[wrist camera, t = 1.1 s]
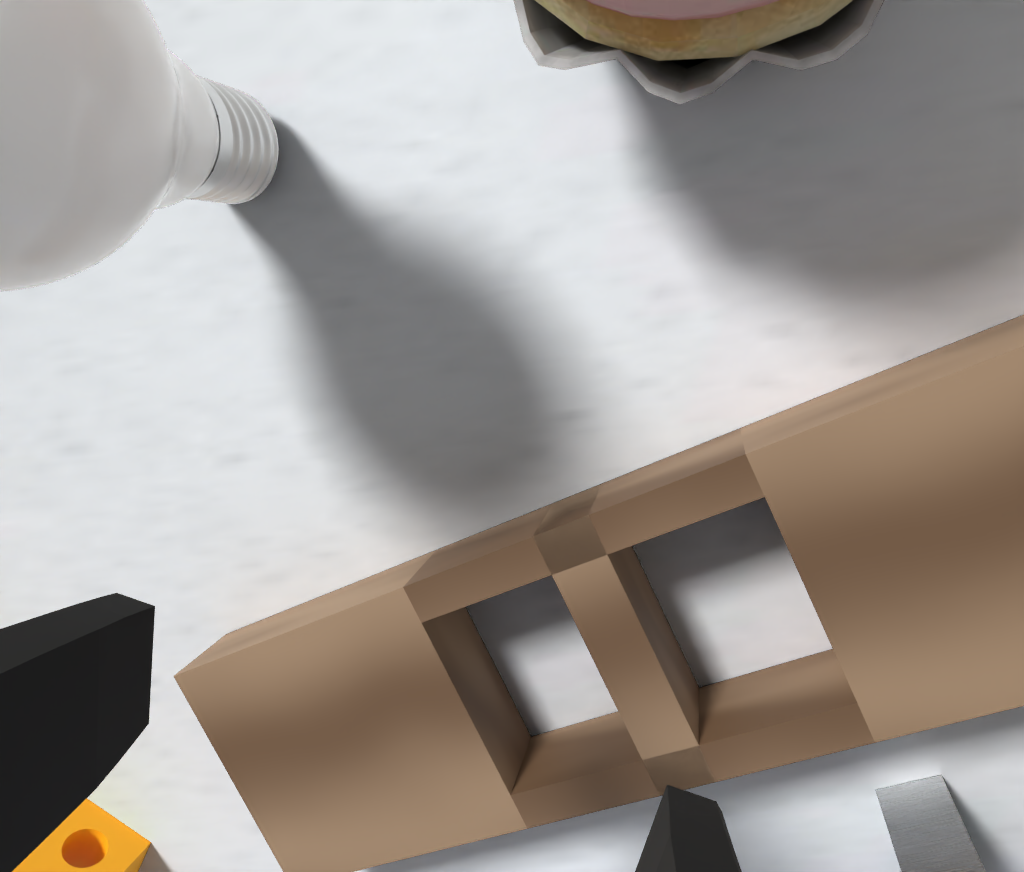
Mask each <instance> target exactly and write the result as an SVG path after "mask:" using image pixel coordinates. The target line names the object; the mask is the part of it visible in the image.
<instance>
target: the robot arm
mask: <svg viewBox="0 0 1024 872" xmlns="http://www.w3.org/2000/svg"><path fill="white" fill-rule="evenodd" d="M154 612H155V606H153V605H150V604H147V603H144V602H141V601H138V600H136V599H133V598H130V597H127V596H124V595H121V594H118V593H115V594H111V595H107V596H103V597H100V598H96V599H93V600H89V601H86V602H83V603H79V604H76V605H73V606H70V607H67V608H64V609H60V610H57V611H54V612H51V613H48V614H45V615H42V616H39V617H36V618H33V619H30V620H27V621H24V622H21V623H18V624H15V625H12V626H9V627H6V628H2V629H0V872H12V871H13V870H14V869H15V868H16V867H17V866H18V865H19V864H20V863H21V862H22V861H23V860H25V859H26V858H27V857H28V856H29V855H30V854H31V853H32V852H33V851H34V850H35V849H36V848H37V847H38V846H39V845H40V844H41V843H42V842H43V841H44V840H45V839H46V838H47V837H48V836H49V835H50V834H51V833H52V832H53V831H54V830H55V829H56V828H57V827H58V826H59V825H60V824H61V823H62V822H63V821H64V820H65V819H66V818H67V817H68V816H69V815H70V814H71V813H72V812H73V811H74V810H75V809H76V808H77V807H78V806H79V805H80V804H81V803H82V802H83V801H84V800H85V799H86V798H87V797H88V796H89V795H90V794H91V793H92V792H93V791H94V790H95V789H96V788H97V787H98V786H99V784H100V783H101V782H102V781H103V780H104V778H105V777H106V776H107V775H108V774H109V773H110V771H111V770H112V769H113V768H114V767H115V765H116V764H117V763H118V762H119V761H120V759H121V758H122V757H123V756H124V754H125V753H126V752H127V750H128V749H129V748H130V747H131V745H132V744H133V743H134V742H135V740H136V739H137V738H138V736H139V735H140V734H141V733H142V731H143V730H144V729H145V728H146V726H147V725H148V724H149V707H150V688H151V669H152V650H153V631H154ZM635 872H741V869H740V866H739V863H738V860H737V857H736V854H735V851H734V848H733V845H732V842H731V839H730V836H729V833H728V830H727V827H726V823H725V820H724V817H723V814H722V811H721V809H720V808H719V806H718V804H717V802H716V801H713V800H710V799H707V798H704V797H701V796H699V795H696V794H693V793H690V792H687V791H684V790H681V789H678V788H676V787H673V786H670V785H667V786H666V789H665V791H664V794H663V797H662V800H661V802H660V805H659V808H658V811H657V813H656V816H655V819H654V821H653V824H652V827H651V830H650V832H649V835H648V838H647V841H646V843H645V846H644V849H643V852H642V854H641V857H640V860H639V863H638V865H637V868H636V871H635Z"/></svg>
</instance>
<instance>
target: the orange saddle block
mask: <svg viewBox="0 0 1024 872" xmlns="http://www.w3.org/2000/svg"><path fill="white" fill-rule="evenodd" d="M150 844H151V842H150V841H148V840H147V839H145V838H144V837H142V836H141V835H139V834H138V833H137V832H135V831H134V830H132V829H131V828H129V827H128V826H126V825H125V824H123V823H122V822H120V821H119V820H118V819H116V818H115V817H113V816H112V815H110V814H109V813H107V812H106V811H104V810H103V809H102V808H100V807H99V806H97V805H96V804H94V803H93V802H91V801H90V800H88V799H87V798H86V799H85V800H84V801H83V802H82V803H81V804H80V805H79V806H78V807H77V808H76V809H75V810H74V811H73V812H72V813H71V814H70V815H69V816H68V817H67V818H66V819H65V820H64V821H63V822H62V823H61V824H60V825H59V826H58V827H57V828H56V829H55V830H54V831H53V832H52V833H51V834H50V835H49V836H48V837H47V838H46V839H45V840H44V841H43V842H42V843H41V844H40V845H39V846H38V847H37V848H36V849H35V850H34V851H33V852H32V853H31V854H30V855H29V856H28V857H27V858H26V859H25V860H23V861H22V862H21V863H20V864H19V865H18V866H17V867H16V868H15V869H14V870H13V871H12V872H138V870H139V868H140V866H141V864H142V862H143V859H144V857H145V855H146V853H147V850H148V848H149V846H150Z"/></svg>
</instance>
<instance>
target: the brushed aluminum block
mask: <svg viewBox="0 0 1024 872" xmlns="http://www.w3.org/2000/svg"><path fill="white" fill-rule="evenodd" d="M875 791H876V794H877V797H878V800H879V803H880V806H881V809H882V812H883V816H884V819H885V822H886V825H887V828H888V831H889V834H890V837H891V840H892V844H893V847H894V850H895V853H896V856H897V859H898V862H899V865H900V868H901V871H902V872H986V871H985V869H984V867H983V864H982V862H981V860H980V858H979V856H978V854H977V851H976V849H975V847H974V845H973V843H972V840H971V838H970V836H969V834H968V832H967V830H966V827H965V825H964V823H963V821H962V819H961V816H960V814H959V812H958V810H957V808H956V806H955V803H954V801H953V799H952V797H951V795H950V792H949V790H948V788H947V786H946V784H945V782H944V779H943V777H942V775H939V776H934V777H930V778H925V779H921V780H917V781H912V782H908V783H903V784H899V785H895V786H890V787H886V788H881V789H877V790H875Z"/></svg>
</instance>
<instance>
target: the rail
mask: <svg viewBox="0 0 1024 872" xmlns="http://www.w3.org/2000/svg"><path fill="white" fill-rule="evenodd" d="M764 497H765V499H766V501H767V503H768V505H769V507H770V510H771V512H772V514H773V516H774V519H775V521H776V523H777V525H778V527H779V530H780V532H781V534H782V536H783V539H784V541H785V543H786V545H787V548H788V550H789V552H790V554H791V556H792V559H793V561H794V563H795V565H796V568H797V570H798V572H799V574H800V576H801V579H802V581H803V583H804V585H805V588H806V590H807V592H808V594H809V596H810V599H811V601H812V603H813V605H814V608H815V610H816V612H817V614H818V617H819V619H820V621H821V623H822V625H823V628H824V630H825V632H826V634H827V637H828V639H829V641H830V643H831V645H832V648H833V649H831V650H828V651H824V652H821V653H817V654H814V655H810V656H807V657H804V658H800V659H797V660H793V661H790V662H786V663H783V664H779V665H776V666H773V667H769V668H766V669H762V670H759V671H755V672H752V673H749V674H745V675H742V676H738V677H735V678H731V679H728V680H725V681H721V682H718V683H714V684H711V685H707V686H704V687H701V688H699V687H698V684H697V682H696V680H695V678H694V676H693V674H692V672H691V670H690V668H689V665H688V663H687V661H686V659H685V657H684V655H683V653H682V651H681V649H680V647H679V644H678V642H677V640H676V638H675V636H674V634H673V632H672V630H671V628H670V625H669V623H668V621H667V619H666V617H665V615H664V613H663V611H662V609H661V606H660V604H659V602H658V600H657V598H656V596H655V594H654V592H653V590H652V588H651V585H650V583H649V581H648V579H647V577H646V575H645V573H644V571H643V569H642V566H641V564H640V562H639V560H638V558H637V556H636V554H635V552H634V550H633V547H632V546H633V545H635V544H638V543H641V542H643V541H646V540H649V539H652V538H654V537H657V536H660V535H663V534H665V533H668V532H671V531H673V530H676V529H679V528H682V527H684V526H687V525H690V524H693V523H695V522H698V521H701V520H703V519H706V518H709V517H712V516H714V515H717V514H720V513H723V512H725V511H728V510H731V509H734V508H736V507H739V506H742V505H744V504H747V503H750V502H753V501H755V500H758V499H761V498H764ZM551 575H552V577H553V579H554V581H555V583H556V585H557V587H558V589H559V591H560V593H561V595H562V597H563V599H564V601H565V603H566V605H567V607H568V609H569V611H570V613H571V615H572V617H573V619H574V621H575V623H576V626H577V628H578V630H579V632H580V634H581V636H582V638H583V640H584V642H585V644H586V646H587V648H588V650H589V652H590V654H591V656H592V658H593V660H594V662H595V664H596V666H597V668H598V670H599V672H600V674H601V677H602V679H603V681H604V683H605V685H606V687H607V689H608V691H609V693H610V695H611V697H612V699H613V701H614V703H615V705H616V707H617V709H618V712H615V713H611V714H608V715H604V716H601V717H598V718H594V719H591V720H587V721H584V722H580V723H577V724H574V725H570V726H567V727H563V728H560V729H556V730H553V731H549V732H546V733H543V734H539V735H536V736H532V737H531V736H530V734H529V732H528V730H527V728H526V726H525V724H524V722H523V720H522V718H521V716H520V714H519V712H518V710H517V708H516V706H515V704H514V702H513V700H512V698H511V696H510V694H509V692H508V690H507V688H506V686H505V684H504V682H503V680H502V678H501V676H500V674H499V673H498V671H497V669H496V667H495V665H494V663H493V661H492V659H491V657H490V655H489V653H488V651H487V649H486V647H485V645H484V643H483V641H482V639H481V637H480V635H479V633H478V631H477V629H476V627H475V625H474V623H473V621H472V619H471V617H470V615H469V613H468V611H467V609H466V606H469V605H471V604H474V603H477V602H480V601H482V600H485V599H488V598H491V597H493V596H496V595H499V594H501V593H504V592H507V591H510V590H512V589H515V588H518V587H521V586H523V585H526V584H529V583H532V582H534V581H537V580H540V579H542V578H545V577H548V576H551ZM174 678H175V680H176V681H177V683H178V685H179V687H180V689H181V690H182V692H183V694H184V696H185V697H186V699H187V701H188V703H189V705H190V706H191V708H192V710H193V712H194V713H195V715H196V717H197V719H198V721H199V722H200V724H201V726H202V728H203V729H204V731H205V733H206V735H207V737H208V738H209V740H210V742H211V744H212V745H213V747H214V749H215V751H216V753H217V754H218V756H219V758H220V760H221V762H222V763H223V765H224V767H225V769H226V770H227V772H228V774H229V776H230V778H231V779H232V781H233V783H234V785H235V786H236V788H237V790H238V792H239V794H240V795H241V797H242V799H243V801H244V802H245V804H246V806H247V808H248V810H249V811H250V813H251V815H252V817H253V818H254V820H255V822H256V824H257V826H258V827H259V829H260V831H261V833H262V834H263V836H264V838H265V840H266V842H267V843H268V845H269V847H270V849H271V850H272V852H273V854H274V856H275V858H276V859H277V861H278V863H279V865H280V866H281V868H282V870H283V872H354V871H358V870H362V869H366V868H370V867H374V866H378V865H382V864H386V863H390V862H394V861H398V860H402V859H406V858H411V857H415V856H419V855H423V854H427V853H431V852H435V851H439V850H443V849H447V848H451V847H455V846H459V845H463V844H467V843H471V842H475V841H479V840H483V839H487V838H491V837H496V836H500V835H504V834H508V833H512V832H516V831H520V830H524V829H528V828H532V827H536V826H540V825H544V824H548V823H552V822H556V821H560V820H564V819H568V818H572V817H576V816H580V815H585V814H589V813H593V812H597V811H601V810H605V809H609V808H613V807H617V806H621V805H625V804H629V803H633V802H637V801H641V800H645V799H649V798H653V797H657V796H661V795H663V794H664V791H665V789H666V786H667V785H670V786H673V787H676V788H678V789H681V790H686V789H690V788H694V787H698V786H702V785H706V784H710V783H714V782H718V781H722V780H726V779H730V778H734V777H738V776H742V775H746V774H750V773H755V772H759V771H763V770H767V769H771V768H775V767H779V766H783V765H787V764H791V763H795V762H799V761H803V760H807V759H811V758H815V757H819V756H823V755H827V754H831V753H835V752H839V751H844V750H848V749H852V748H856V747H860V746H864V745H868V744H872V743H876V742H880V741H884V740H888V739H892V738H896V737H900V736H904V735H908V734H912V733H916V732H920V731H924V730H929V729H933V728H937V727H941V726H945V725H949V724H953V723H957V722H961V721H965V720H969V719H973V718H977V717H981V716H985V715H989V714H993V713H997V712H1001V711H1005V710H1009V709H1013V708H1018V707H1022V706H1024V315H1022V316H1019V317H1017V318H1014V319H1012V320H1009V321H1007V322H1004V323H1002V324H999V325H997V326H994V327H992V328H989V329H987V330H984V331H982V332H979V333H977V334H974V335H972V336H969V337H967V338H964V339H962V340H959V341H957V342H954V343H952V344H949V345H947V346H944V347H942V348H939V349H937V350H934V351H932V352H929V353H927V354H924V355H922V356H919V357H917V358H914V359H912V360H909V361H907V362H904V363H902V364H899V365H897V366H894V367H892V368H889V369H887V370H884V371H882V372H879V373H877V374H874V375H872V376H869V377H867V378H864V379H862V380H859V381H857V382H854V383H852V384H849V385H847V386H844V387H842V388H839V389H837V390H834V391H832V392H830V393H827V394H825V395H822V396H820V397H817V398H815V399H812V400H810V401H807V402H805V403H802V404H800V405H797V406H795V407H792V408H790V409H787V410H785V411H782V412H780V413H777V414H775V415H772V416H770V417H767V418H765V419H762V420H760V421H757V422H755V423H752V424H750V425H747V426H745V427H742V428H740V429H737V430H735V431H732V432H730V433H727V434H725V435H722V436H720V437H717V438H715V439H712V440H710V441H707V442H705V443H702V444H700V445H697V446H695V447H692V448H690V449H687V450H685V451H682V452H680V453H677V454H675V455H672V456H670V457H667V458H665V459H662V460H660V461H657V462H655V463H652V464H650V465H647V466H645V467H642V468H640V469H637V470H635V471H632V472H630V473H627V474H625V475H622V476H620V477H617V478H615V479H612V480H610V481H607V482H605V483H602V484H600V485H597V486H595V487H592V488H590V489H587V490H585V491H582V492H580V493H577V494H575V495H572V496H570V497H567V498H565V499H562V500H560V501H557V502H555V503H552V504H550V505H547V506H545V507H542V508H540V509H538V510H535V511H533V512H530V513H528V514H525V515H523V516H520V517H518V518H515V519H513V520H510V521H508V522H505V523H503V524H500V525H498V526H495V527H493V528H490V529H488V530H485V531H483V532H480V533H478V534H475V535H473V536H470V537H468V538H465V539H463V540H460V541H458V542H455V543H453V544H450V545H448V546H445V547H443V548H440V549H438V550H435V551H433V552H430V553H428V554H425V555H423V556H420V557H418V558H415V559H413V560H410V561H408V562H405V563H403V564H400V565H398V566H395V567H393V568H390V569H388V570H385V571H383V572H380V573H378V574H375V575H373V576H370V577H368V578H365V579H363V580H360V581H358V582H355V583H353V584H350V585H348V586H345V587H343V588H340V589H338V590H335V591H333V592H330V593H328V594H325V595H323V596H320V597H318V598H315V599H313V600H310V601H308V602H305V603H303V604H300V605H298V606H295V607H293V608H290V609H288V610H285V611H283V612H280V613H278V614H275V615H273V616H270V617H268V618H265V619H263V620H260V621H258V622H255V623H253V624H250V625H248V626H246V627H243V628H241V629H238V630H236V631H233V632H231V633H228V634H226V635H225V636H223V637H222V638H221V639H220V640H218V641H217V642H216V643H215V644H213V645H212V646H211V647H210V648H208V649H207V650H206V651H205V652H203V653H202V654H201V655H200V656H198V657H197V658H196V659H195V660H193V661H192V662H191V663H190V664H188V665H187V666H186V667H184V668H183V669H182V670H181V671H179V672H178V673H177V674H176V675H174Z"/></svg>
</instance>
